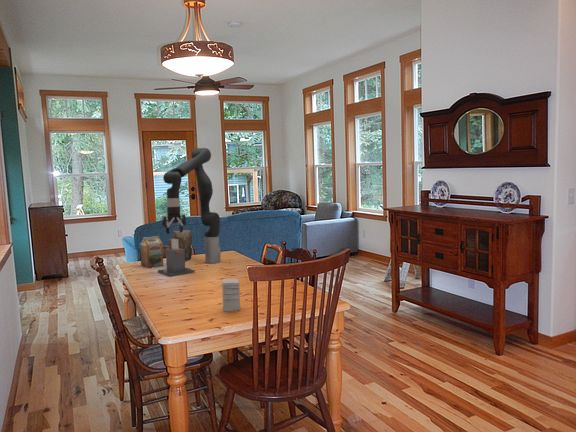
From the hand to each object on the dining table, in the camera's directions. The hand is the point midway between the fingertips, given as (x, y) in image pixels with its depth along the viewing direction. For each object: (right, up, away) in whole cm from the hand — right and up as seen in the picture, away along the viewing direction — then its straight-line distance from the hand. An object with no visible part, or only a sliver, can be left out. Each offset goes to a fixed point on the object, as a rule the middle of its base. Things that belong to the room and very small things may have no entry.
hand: (174, 233), depth 285 cm
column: (0, -22, +2) cm, 22 cm away
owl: (-5, -20, +44) cm, 49 cm away
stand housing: (0, -24, +2) cm, 24 cm away
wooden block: (-3, -22, +20) cm, 30 cm away
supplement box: (+43, -31, -75) cm, 91 cm away
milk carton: (-20, -22, +24) cm, 39 cm away
